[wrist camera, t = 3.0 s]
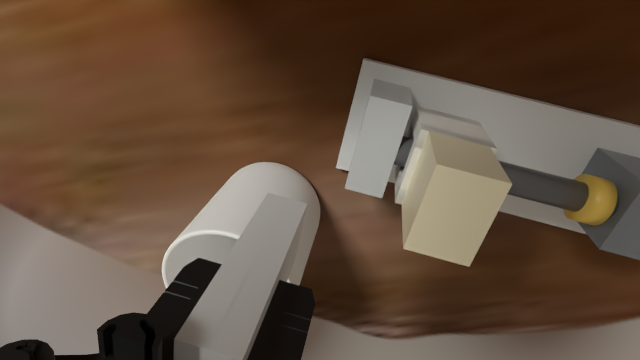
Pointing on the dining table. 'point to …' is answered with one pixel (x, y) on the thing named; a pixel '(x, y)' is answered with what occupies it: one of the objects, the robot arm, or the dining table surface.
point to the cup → (243, 218)
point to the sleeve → (449, 186)
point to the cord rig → (506, 151)
